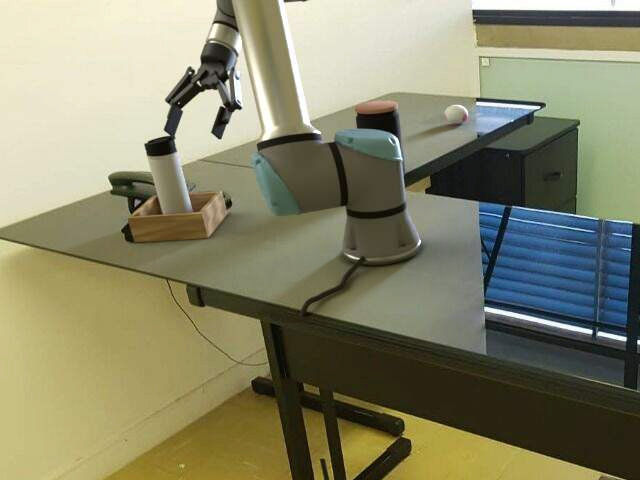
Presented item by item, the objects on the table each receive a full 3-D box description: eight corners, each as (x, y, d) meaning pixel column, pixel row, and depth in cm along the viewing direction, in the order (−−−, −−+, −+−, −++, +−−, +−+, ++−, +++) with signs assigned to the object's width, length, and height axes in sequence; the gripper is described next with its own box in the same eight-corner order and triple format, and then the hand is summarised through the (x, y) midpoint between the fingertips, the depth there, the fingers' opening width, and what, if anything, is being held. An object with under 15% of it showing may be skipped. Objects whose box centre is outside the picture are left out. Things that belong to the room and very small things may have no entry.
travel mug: (192, 231, 173) (168, 139, 163) (163, 233, 173) (137, 141, 163) (201, 222, 179) (179, 132, 168) (173, 224, 179) (148, 134, 169)
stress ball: (470, 132, 252) (472, 112, 252) (464, 123, 244) (466, 102, 244) (447, 131, 253) (450, 111, 254) (440, 122, 246) (443, 101, 246)
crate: (208, 238, 169) (201, 213, 166) (134, 242, 169) (127, 218, 166) (227, 214, 183) (222, 190, 180) (159, 218, 183) (152, 195, 180)
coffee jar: (399, 184, 195) (390, 109, 186) (358, 184, 197) (347, 110, 188) (411, 172, 204) (403, 100, 194) (371, 172, 206) (362, 101, 197)
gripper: (275, 62, 177) (247, 146, 173) (190, 61, 186) (161, 141, 182) (255, 40, 170) (225, 127, 166) (168, 40, 180) (137, 123, 176)
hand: (192, 134), depth 174 cm, fingers open, 13 cm apart
